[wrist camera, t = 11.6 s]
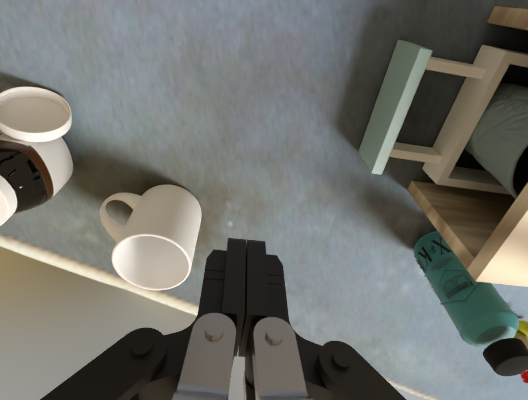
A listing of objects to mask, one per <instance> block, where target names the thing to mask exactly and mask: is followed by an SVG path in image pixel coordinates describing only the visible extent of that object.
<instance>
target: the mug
mask: <svg viewBox="0 0 528 400" xmlns="http://www.w3.org/2000/svg"><path fill="white" fill-rule="evenodd" d="M112 200H120V201H123V202H125V203H127V204H128V205H129V206H130V207H131V208H132V209H133V212H132V214H131V216H130V218H129V220H128V222H127V224H126V226H125V225H122V224H120V223H118V222H116V221H115V220H113V219H112V218H111V217H110V216H109V215H108V214H107V212H106V204H107V203H108V202H109V201H112ZM100 219H101V222H102V224H103V226H104V227H105V229H106V230H107V232H108V233H109V234H110V235H111V236H112V238H113V239H114V240H115V241H116V245H115V247H114V249H113V252H112V263H113V266H114V268H115V270H116V272H117V273H118V274H119V275H120V276H121V277H122V278H123V279H124V280H126V281H127V282H129V283H130V284H132V285H134V286H137V287H140V288H143V289H148V290H165V289H170V288H173V287H176V286H178V285H179V284H181V283H182V282H183V281H184V280H185V279H186V278H187V277H188V275H189V273H190V270H191V265H192V261H193V256H194V251H195V246H196V242H197V237H198V232H199V227H200V222H201V207H200V205H199V203H198V201H197V199H196V198H195V197H194V196H193V195H192V194H191V193H190V192H189V191H187V190H186V189H184V188H181V187H179V186H175V185H167V184H166V185H158V186H155V187H152V188H150V189H149V190H147V191H146V192H145V193H144V194H143V195H142V196H140V195H137V194H133V193H117V194H114V195H111V196H110V197H108V198H107V199H106V200H105V201H104V202H103V203H102V205H101V208H100Z"/></svg>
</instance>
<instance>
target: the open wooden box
mask: <svg viewBox="0 0 528 400" xmlns="http://www.w3.org/2000/svg"><path fill="white" fill-rule="evenodd" d="M487 23H491V24H496V25H501V26H506V27H511V28H516V29H521V30H526V31H528V9H521V8H511V7H501V6H494V8H493V10H492V12H491V14H490V16H489V18H488V21H487ZM407 191H408V192H409V193H410V195H411V196H412V197H413V199H414V200H415V201H416V203H417V204H418V205H419V207H420V208H421V209H422V211H423V212H424V213H425V215H426V216H427V217H428V219H429V220H430V221H431V223H432V224H433V225H434V227H435V228H436V229H437V231H438V232H439V233H440V235H441V236H442V237H443V239H444V240H445V241H446V243H447V244H448V245H449V247H450V248H451V249H452V251H453V252H454V253H455V255H456V256H457V257H458V259H459V260H460V261H461V263H462V264H463V265H464V267H465V268H466V269H467V271H468V272H469V273H470V275H471V276H472V277H473V279H474V280H475V281H477V282H487V283H497V284H506V285H516V286H526V287H528V183H527V184H526V186H525V187H524V189H523V190H522V192H521V193H520V194H519V196H518V197H517V199H515V198H514V197H513V196H512V195H510V194H503V193H495V192H488V191H481V190H474V189H466V188H459V187H452V186H445V185H437V184H433V183H426V182H418V181H411V183H410V185H409V187H408V189H407Z"/></svg>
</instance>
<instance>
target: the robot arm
mask: <svg viewBox="0 0 528 400" xmlns="http://www.w3.org/2000/svg"><path fill="white" fill-rule="evenodd" d="M238 346H239V354H238V356H243V357H245V371H244V376H243V389H244V400H406V399H405V398H404V397H403V396H402V395H401V394H400V393H399V392H398V391H397V390H396V389H395V388H394V387H393V386H392V385H391V384H390V383H388V382H387V381H386V380H385V379H384V378H383V377H382V376H381V375H380V374H379V373H378V372H377V371H376V370H375V369H374V368H373V367H372V366H371V365H370V364H369V363H368V362H367V361H366V360H365V359H364V358H363V357H362V356H361V355H360V354H359V353H358V352H357V351H355V350H354V349H353V348H352V347H351V346H349V345H348V344H346V343H344V342H341V341H330V342H327V343H326V344H324V345H323V346H321V345H318V344H315V343H313V342H310V341H308V340H305V339H304V338H302V337H300V336H299V335H298V334H297V333H296V332H295V331H294V330H293V328H292V326H291V325H290V322H289V316H288V307H287V298H286V290H285V281H284V272H283V265H282V263H281V262H280V260H279V258H278V257H277V255H267V254H266V246H265V241H255V240H247V242H246V240H244V239H234V238H228V242H227V250H226V251H223V250H213V251H212V252H211V254H210V255H209V256H208V257H207V260H206V266H205V273H204V280H203V285H202V292H201V298H200V304H199V311H198V315H197V317H196V319H195V321H194V322H193V323H192V324H191V325H190V326H189V327H187V328H186V329H184V330H182V331H179V332H176V333H172V334H168V335H163V334H162V333H161V332H159V331H158V330H156V329H152V328H140V329H136V330H134V331H132V332H130V333H129V334H127V335H126V336H124V337H123V338H121V339H120V340H119V341H117V342H116V343H115V344H114V345H112V346H111V347H110V348H108V349H107V350H106V351H104V352H103V353H102V354H100V355H99V356H98V357H96V358H95V359H94V360H92V361H91V362H90V363H88V364H87V365H86V366H84V367H83V368H82V369H80V370H79V371H78V372H76V373H75V374H74V375H72V376H71V377H70V378H68V379H67V380H66V381H64V382H63V383H62V384H60V385H59V386H58V387H56V388H55V389H54V390H53V391H51V392H50V393H48V394H47V395H46V396H44V397H43V398H42V399H40V400H228V394H229V386H230V377H231V370H232V365H233V359H234V356H237V351H238Z"/></svg>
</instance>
